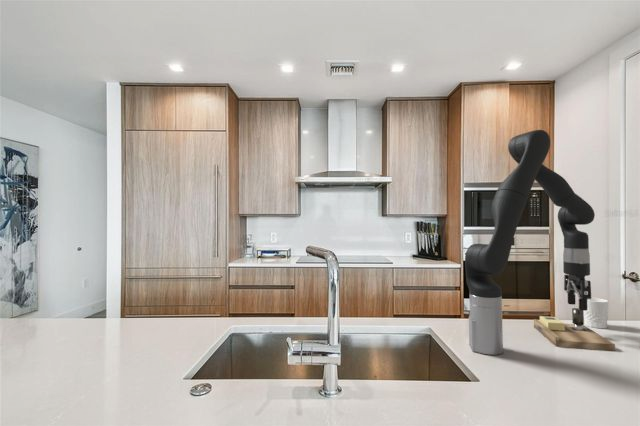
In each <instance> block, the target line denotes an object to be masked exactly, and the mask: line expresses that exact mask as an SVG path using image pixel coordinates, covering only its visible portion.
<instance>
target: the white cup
mask: <svg viewBox="0 0 640 426" xmlns="http://www.w3.org/2000/svg"><path fill="white" fill-rule="evenodd" d="M583 311H584V326H586V327H588V328H589V327H590V328H594V329H607V328H608V318H609V300H607V299H605V298H604V299H603V298H601V297H600V298H599V297H592V296H591V299H587V310H586V311H585V310H583Z"/></svg>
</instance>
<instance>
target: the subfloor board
mask: <svg viewBox="0 0 640 426" xmlns="http://www.w3.org/2000/svg"><path fill="white" fill-rule="evenodd" d="M533 328H534V329H535V330H536V331H538V332H539V333H540V334H541V336H543V337H545V338H546V339H547V341H549V342H551V344H552V345H553V346H555V347H558V348H559V347H560V348H572V349H573V348H574V349H585V350H586V349H587V350H599V351H610V352H611V351H612V352H613V351H614V352H616V343H613V342H612V341H611V340H609V339H607V338H605V337H603V336H602V335H601V334H599V333H597V332H596V331H594V330H592V329H591V328H589V327H588V326H586V325H585V324H584V325H583V331H574V324H573V323H565V331H561V330H549V329H548V328H547V327H546V326H544V325H543V324H542V323H541V322H540V320H538V318H537V319H536V318H534V319H533Z"/></svg>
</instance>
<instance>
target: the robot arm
mask: <svg viewBox="0 0 640 426" xmlns="http://www.w3.org/2000/svg"><path fill="white" fill-rule="evenodd" d="M550 148H551V137H550V134H549V133H548V132H547V131H546V130H543V129H535V130H530V131H527V132H525V133H521V134H518V135H517V134H516V135H515V136H513V137H512V138H511V139H510V140H509V142H508V144H507V149H508V152H509V154H510V157H511V158H512V159H513V160H514V161H515V162H516V163H517V164H518V165H516V167H515V169H513V171H512V172H511V173H510V174H508V175H507V177H506V178H505V179H504V180H503V181H502V182H501V183H500V185H499V186H498V188H497V189H496V191H495V195H494V197H493V200H492V202H491V215H492V218H493V219H492V220H493V222H494V229H493V233H492V237H491V239H490V240H489V243H488V244H486V243H472V244H471V245H469V247H467V249H466V251H465V256H464V257H465V258H464V267H465V277H466V278H465V281H466V285H467V286H468V287H467V288H468V291H469V293H468V294H469V295H468V296H469V315H468V345H469V347H470V349H471V351H472V352H474V353H475V352H476V353H479V354H484V355H491V356H493V355H494V356H495V355H501V354H503V353H504V341H503V339H504V338H503V337H504V335H503V333H504V332H503V300H502V299H503V297H502V296H503V293H502V287H501V286H500V284H497V283H496V282H495V281H494V280H493V279H492V278H491V275H492V276H497V275H500V274H501V273H503V272H504V270H505V268H506V266H507V265H508V261H509V257H510V253H511V249H512V246H513V241H514V237H515V234H516V232H517V229H518V225H519V222H520V220H521V217H522V215H523V212H524V210H525V208H526V205H527V202H528V198H529V196H530V193H531V191H532V188H533V185H534V183H535V181H536V183H538V185H539V186H540V187H541V188H542V190H543V191H544V192H545V194H546V195H547V196H548V198H549V199H550V201H551V202H552V203H553V204H554V205H555V206H557V207H560V208H559V210H558V213H557V220H558V224H559V226H560V229H561V232H562V235H563V236H562V237H563V252H562V256H563V257H562V261H563V262H562V263H563V267H562V269H563V271H562V272H563V274H564V275H563V284H564V285H563V289H564V291H565V293H566V294H567V304H568V305H576V294H577V297H578V308H579V309H580V310H585V311H586V310H587V299H591V297H592V285H591V281H590V280H586V277H588V276H590V275H591V255H590V249H589V248H590V247H589V245H590V244H589V243H590V241H589V234H588V233H587V232H584V231H581V230H578V228H577V226H576V225H589V224H591V223H592V222H593V221H594V219H595V216H596V215H595V210H594V209H593V207H592V206H591V204H590V203H588V202H587V201H586V200H585V199H584V198H582V197H581V196H579V195H578V194H577V193H575V192H574V189H573V188H572V187H571V186H570V184H569V182H568V181H567V180H566V179H565V178H564V177H563V176H561V174H559V173H557V172H556V171H554V170H553V169H550V168H549V167H547V166H546V165H544V164H543V163H544V162H545V159H546V158H547V155H548V153H549V151H550Z"/></svg>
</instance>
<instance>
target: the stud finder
mask: <svg viewBox="0 0 640 426" xmlns="http://www.w3.org/2000/svg"><path fill="white" fill-rule="evenodd" d="M539 322H541V323H542V324H543V325H544V326H546V327H547V328H548V329H549V330H561V331H565V324H566V323H564V322H563V321H562V320H560V319H559V318H557V317H555V316H542V315H539Z"/></svg>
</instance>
